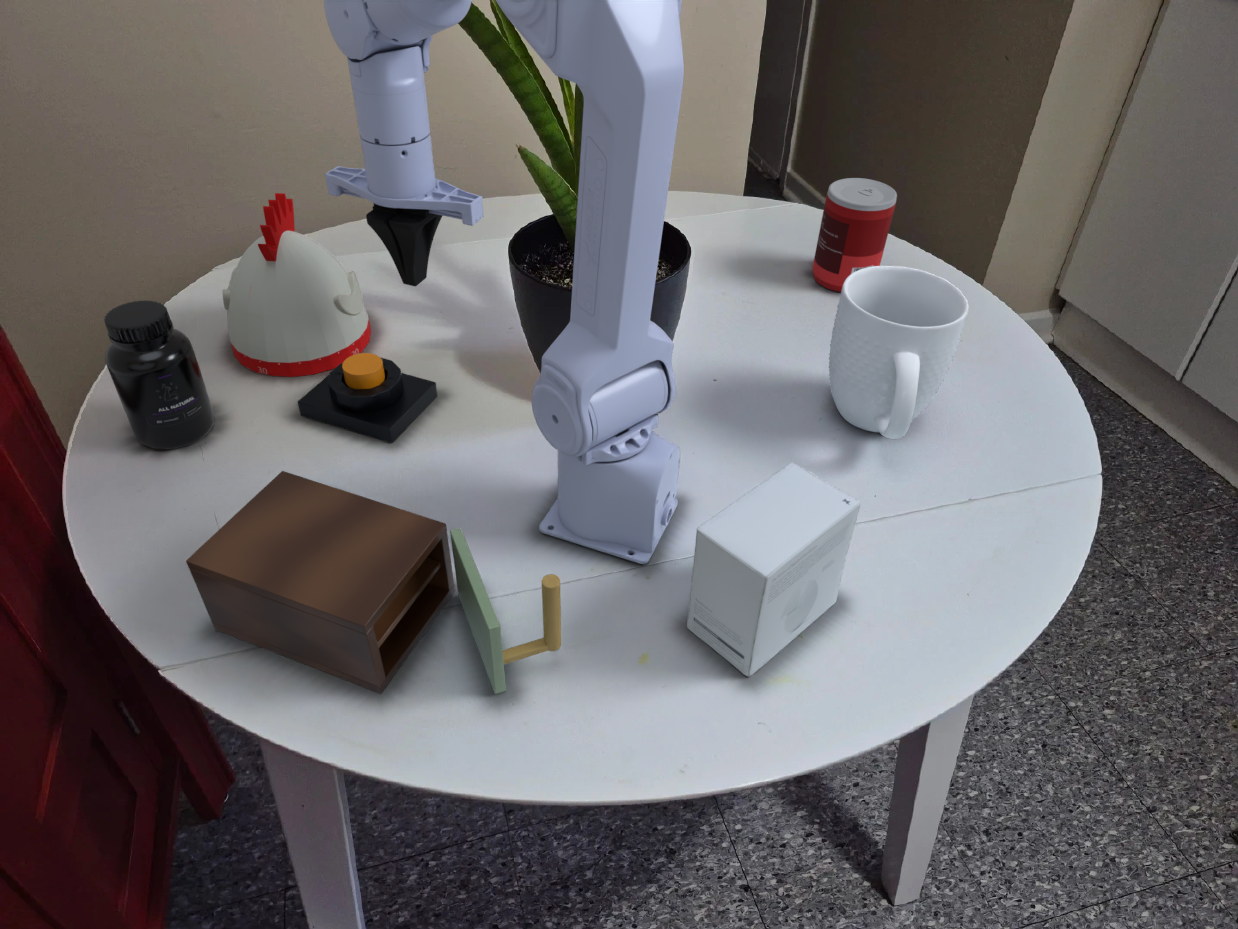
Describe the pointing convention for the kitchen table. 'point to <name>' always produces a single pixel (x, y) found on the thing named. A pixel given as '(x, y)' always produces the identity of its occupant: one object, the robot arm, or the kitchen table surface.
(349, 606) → the shelf cabinet
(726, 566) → the cosmetics box
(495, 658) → the shelf door
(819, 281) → the canned food
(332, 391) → the switch box
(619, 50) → the robot arm
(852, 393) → the mug
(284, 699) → the kitchen table surface
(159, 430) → the supplement bottle
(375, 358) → the button
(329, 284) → the kitchen timer
